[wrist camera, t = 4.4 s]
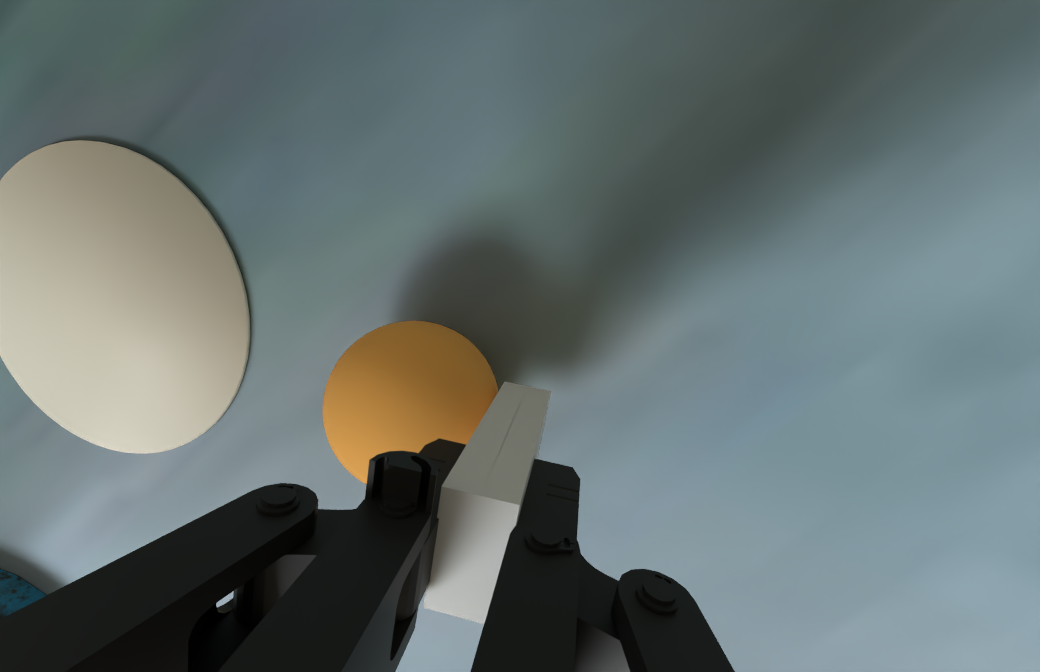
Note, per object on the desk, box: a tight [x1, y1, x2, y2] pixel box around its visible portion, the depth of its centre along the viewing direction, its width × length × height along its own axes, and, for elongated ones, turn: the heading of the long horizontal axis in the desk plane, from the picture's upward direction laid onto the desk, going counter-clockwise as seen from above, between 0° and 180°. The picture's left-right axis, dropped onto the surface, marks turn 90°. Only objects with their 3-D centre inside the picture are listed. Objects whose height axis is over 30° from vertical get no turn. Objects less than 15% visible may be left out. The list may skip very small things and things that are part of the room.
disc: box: [0, 140, 250, 454], centre depth 20 cm, size 13×13×1 cm
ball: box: [323, 321, 498, 484], centre depth 16 cm, size 6×6×6 cm
